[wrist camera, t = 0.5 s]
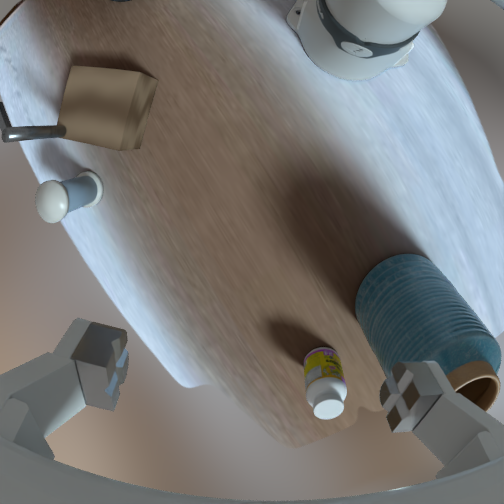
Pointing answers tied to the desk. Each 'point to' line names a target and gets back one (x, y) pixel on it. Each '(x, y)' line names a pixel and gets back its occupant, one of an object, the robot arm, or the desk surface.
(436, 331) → the vase
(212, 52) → the desk surface
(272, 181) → the desk surface
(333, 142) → the desk surface
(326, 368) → the supplement bottle
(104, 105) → the walnut shelf block
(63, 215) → the cord spool
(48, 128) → the hook post
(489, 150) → the desk surface
